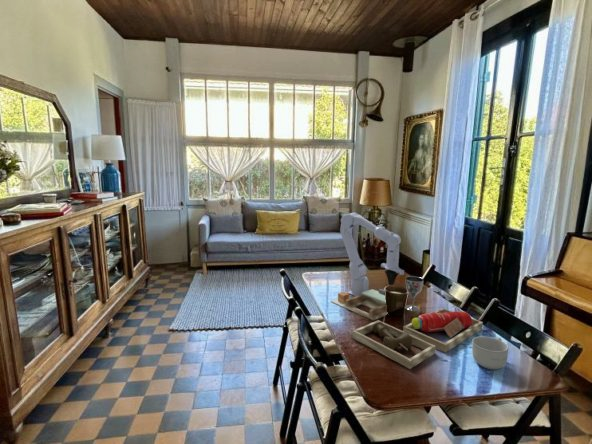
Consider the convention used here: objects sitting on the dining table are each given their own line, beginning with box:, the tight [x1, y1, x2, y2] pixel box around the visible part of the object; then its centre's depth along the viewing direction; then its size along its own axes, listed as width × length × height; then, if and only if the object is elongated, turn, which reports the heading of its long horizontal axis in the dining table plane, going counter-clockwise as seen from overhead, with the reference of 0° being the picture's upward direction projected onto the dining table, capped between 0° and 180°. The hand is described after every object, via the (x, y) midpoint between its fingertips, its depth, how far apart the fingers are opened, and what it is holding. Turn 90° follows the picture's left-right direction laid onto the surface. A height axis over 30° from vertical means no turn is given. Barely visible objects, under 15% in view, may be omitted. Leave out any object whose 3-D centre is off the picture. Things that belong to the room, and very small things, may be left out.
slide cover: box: [361, 288, 386, 304], centre depth 163 cm, size 8×16×3 cm, turn 38°
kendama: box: [372, 321, 413, 352], centre depth 127 cm, size 6×10×20 cm
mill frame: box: [352, 319, 436, 370], centre depth 126 cm, size 16×26×3 cm, turn 38°
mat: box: [330, 297, 351, 308], centre depth 167 cm, size 10×8×1 cm
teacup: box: [471, 335, 509, 370], centre depth 115 cm, size 14×11×8 cm
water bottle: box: [411, 310, 473, 339], centre depth 137 cm, size 12×8×25 cm
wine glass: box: [404, 275, 424, 312], centre depth 160 cm, size 8×8×15 cm
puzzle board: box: [343, 295, 389, 321], centre depth 160 cm, size 20×18×4 cm
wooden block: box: [337, 291, 350, 303], centre depth 167 cm, size 4×4×4 cm
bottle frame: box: [402, 307, 484, 353], centre depth 138 cm, size 31×18×3 cm, turn 128°
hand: (391, 284), depth 168 cm, fingers closed
